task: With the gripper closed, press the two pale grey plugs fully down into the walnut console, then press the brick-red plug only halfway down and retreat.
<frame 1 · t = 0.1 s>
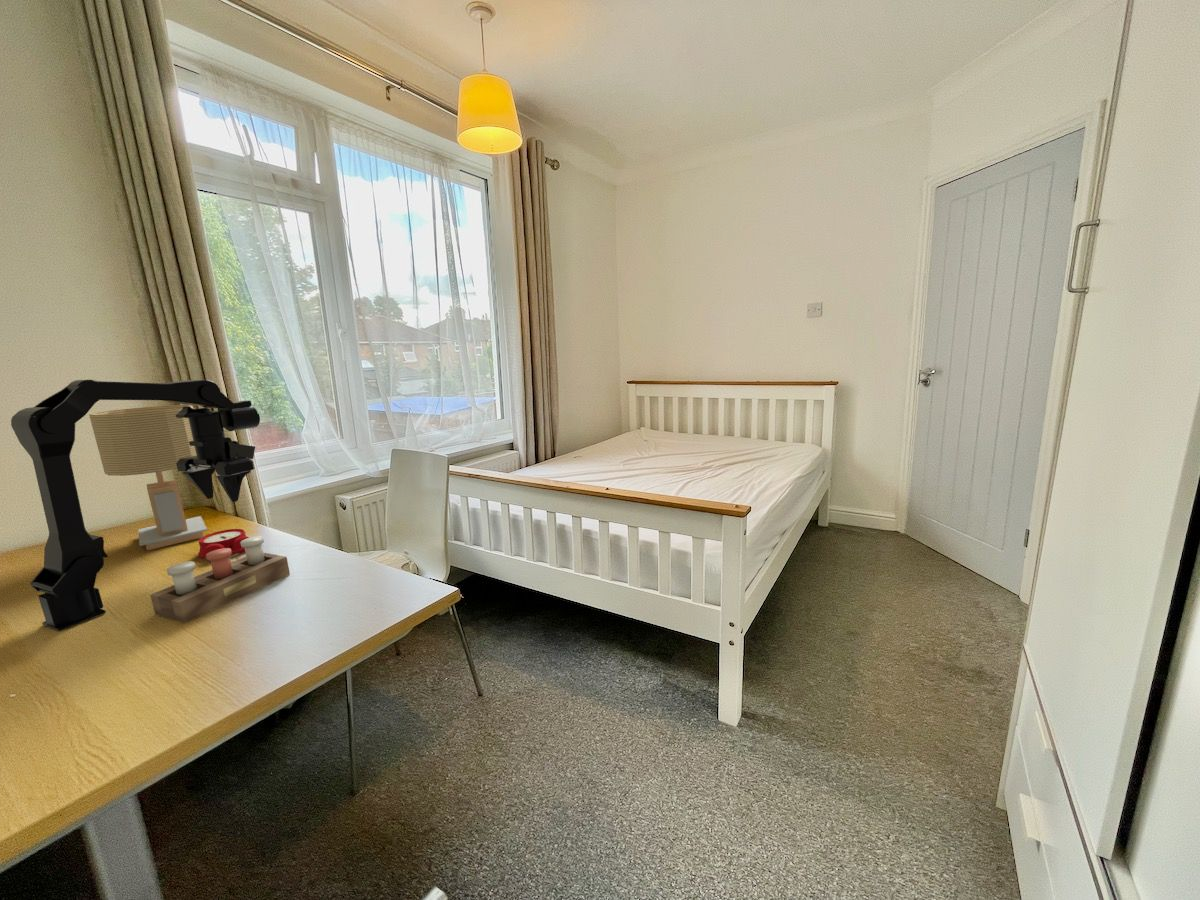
hand: (222, 499, 112), 15 cm above the table, fingers open, 9 cm apart
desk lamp: (174, 537, 130), on the table
red plug: (221, 563, 96), point 6 cm above the table, slide at 0.0 cm
alarm clock: (227, 553, 119), on the table
left plug: (183, 578, 90), point 6 cm above the table, slide at 0.0 cm
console: (227, 593, 97), on the table
right plug: (254, 551, 102), point 6 cm above the table, slide at 0.0 cm
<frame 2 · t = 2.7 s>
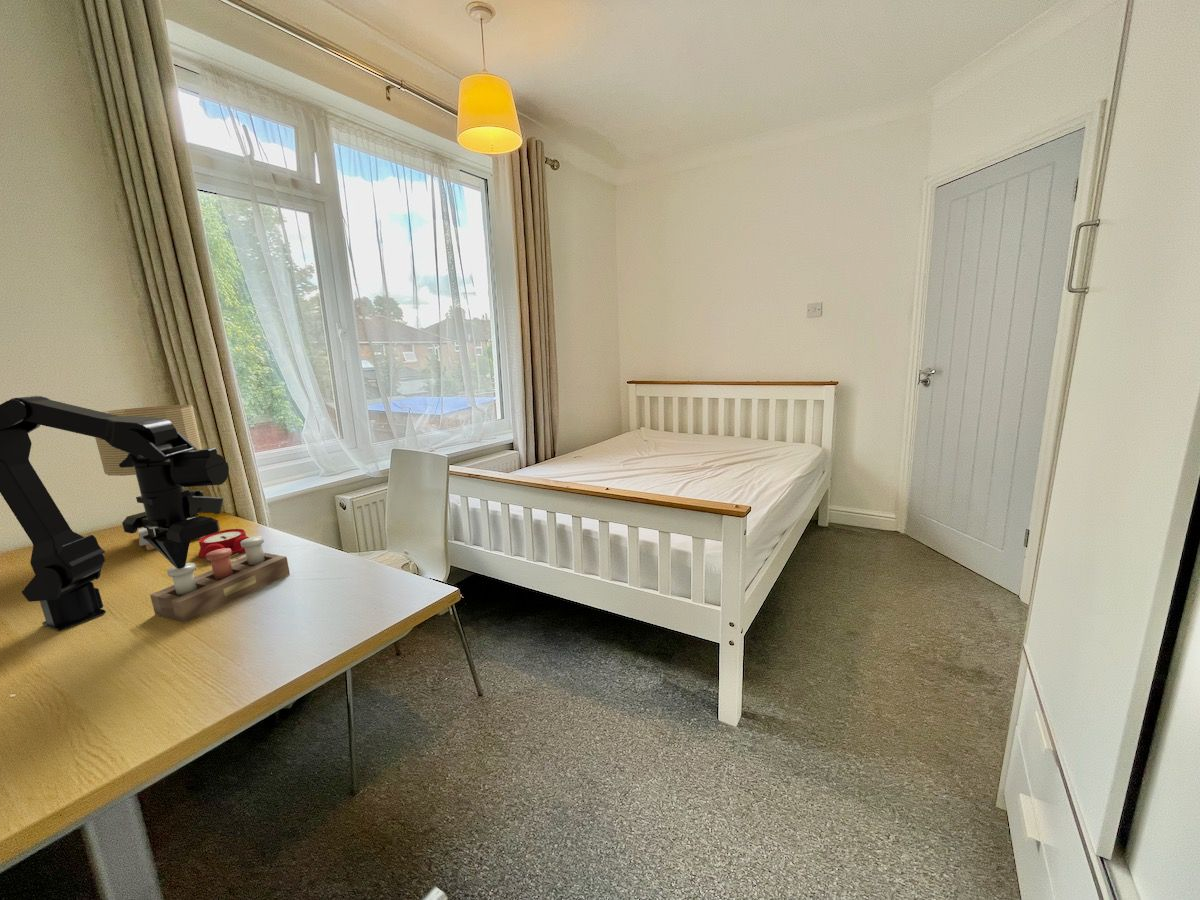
hand: (180, 567, 89), 9 cm above the table, fingers closed, pressing on left plug
left plug: (184, 579, 90), point 6 cm above the table, slide at 0.3 cm, touching gripper
everything else where it was.
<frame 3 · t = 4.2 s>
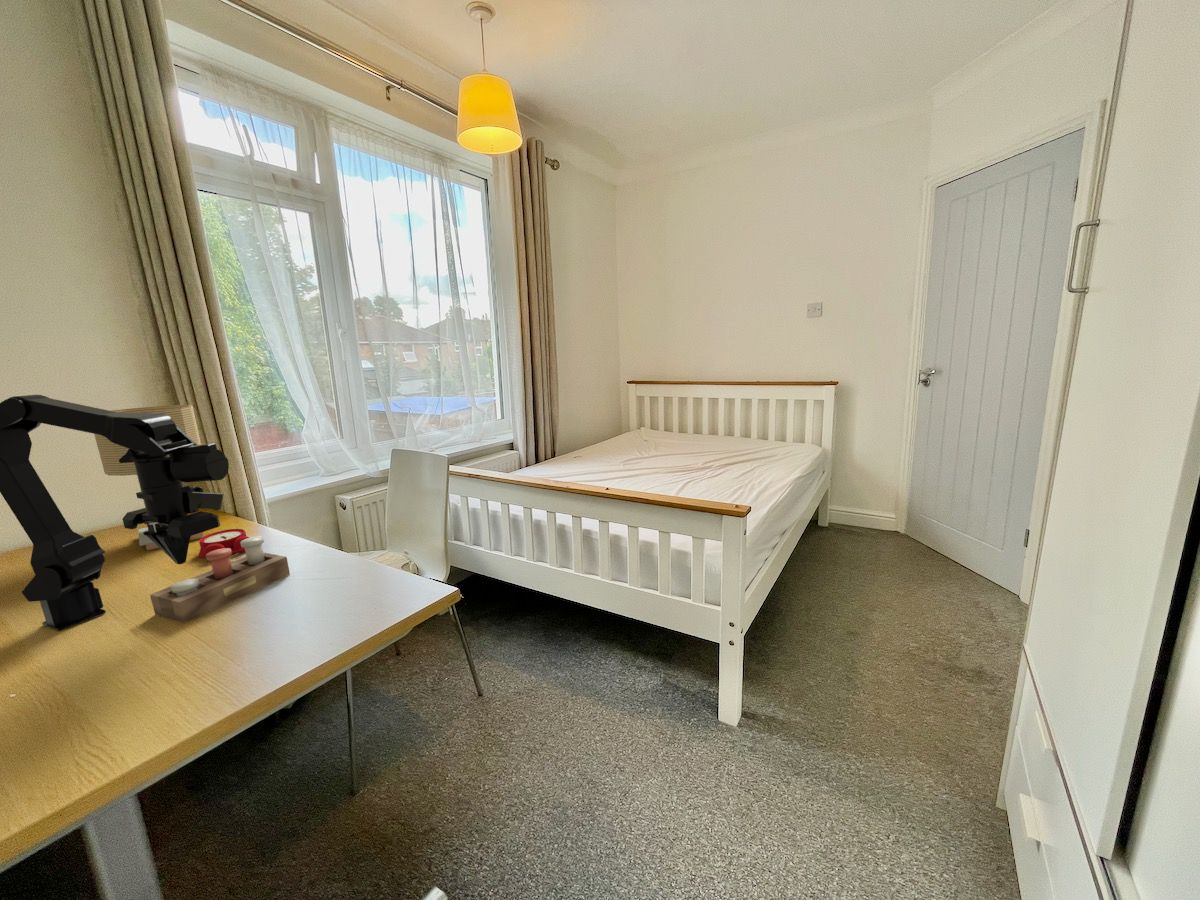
hand: (181, 563, 89), 10 cm above the table, fingers closed
left plug: (188, 595, 91), point 3 cm above the table, slide at 3.6 cm
everything else where it was.
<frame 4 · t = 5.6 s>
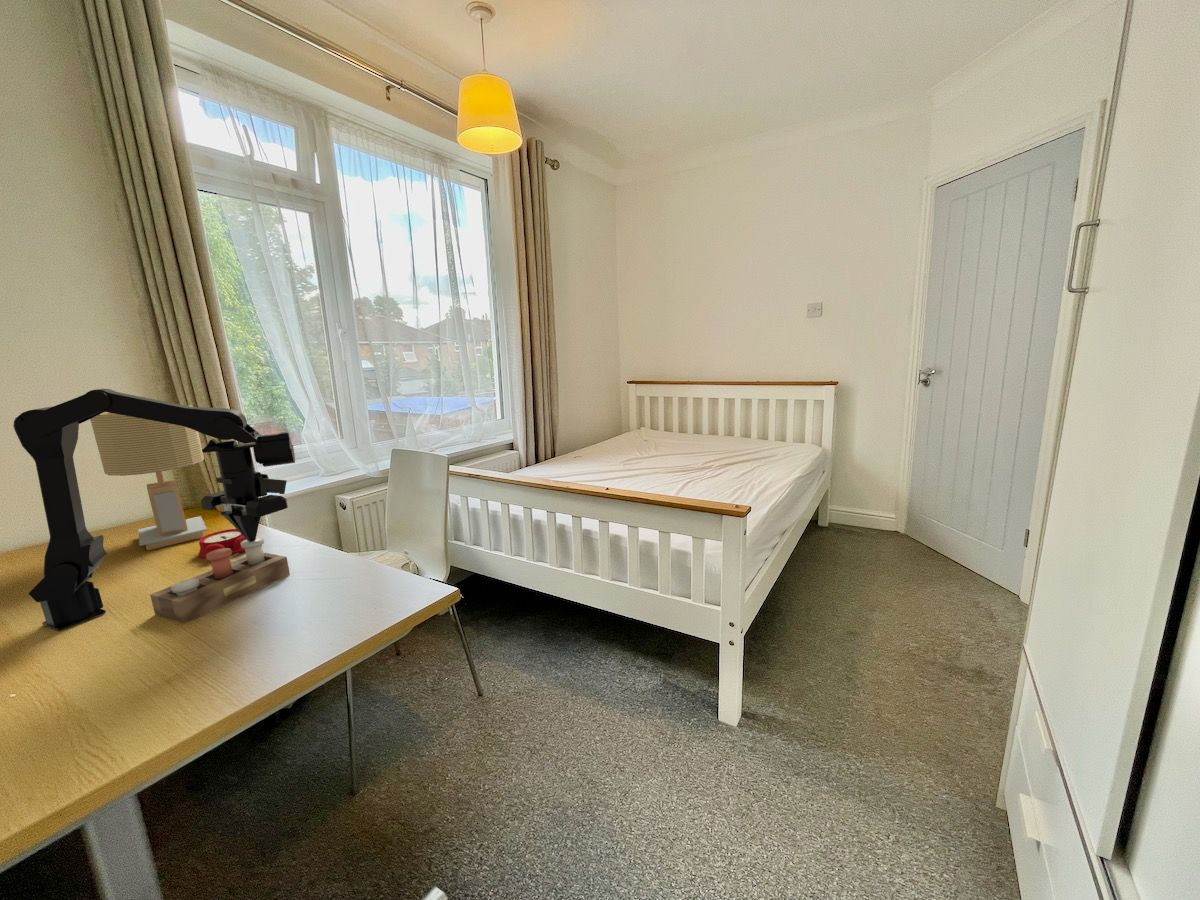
hand: (251, 540, 101), 9 cm above the table, fingers closed, pressing on right plug
right plug: (254, 551, 102), point 6 cm above the table, slide at 0.2 cm, touching gripper
everything else where it was.
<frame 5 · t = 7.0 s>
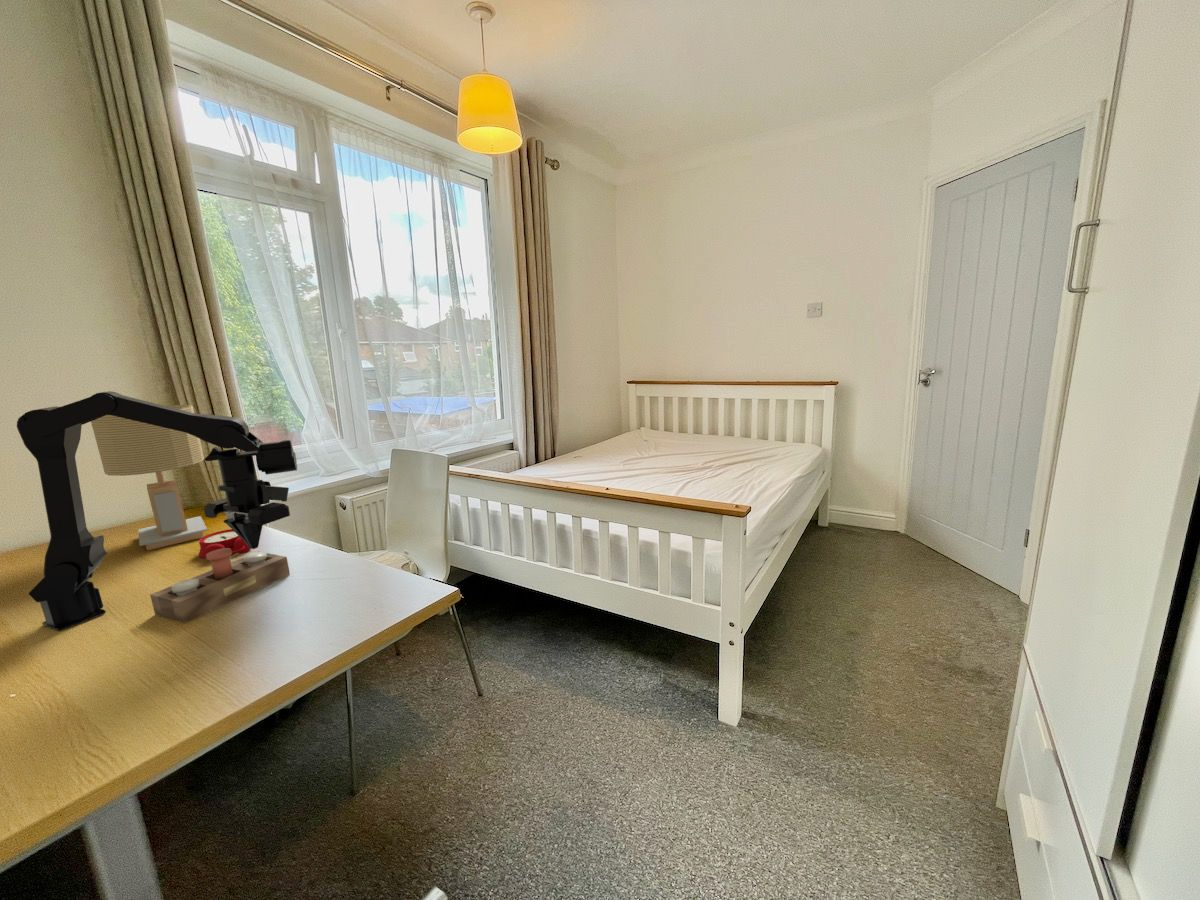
hand: (254, 548, 102), 7 cm above the table, fingers closed
right plug: (257, 566, 102), point 3 cm above the table, slide at 3.6 cm
everything else where it was.
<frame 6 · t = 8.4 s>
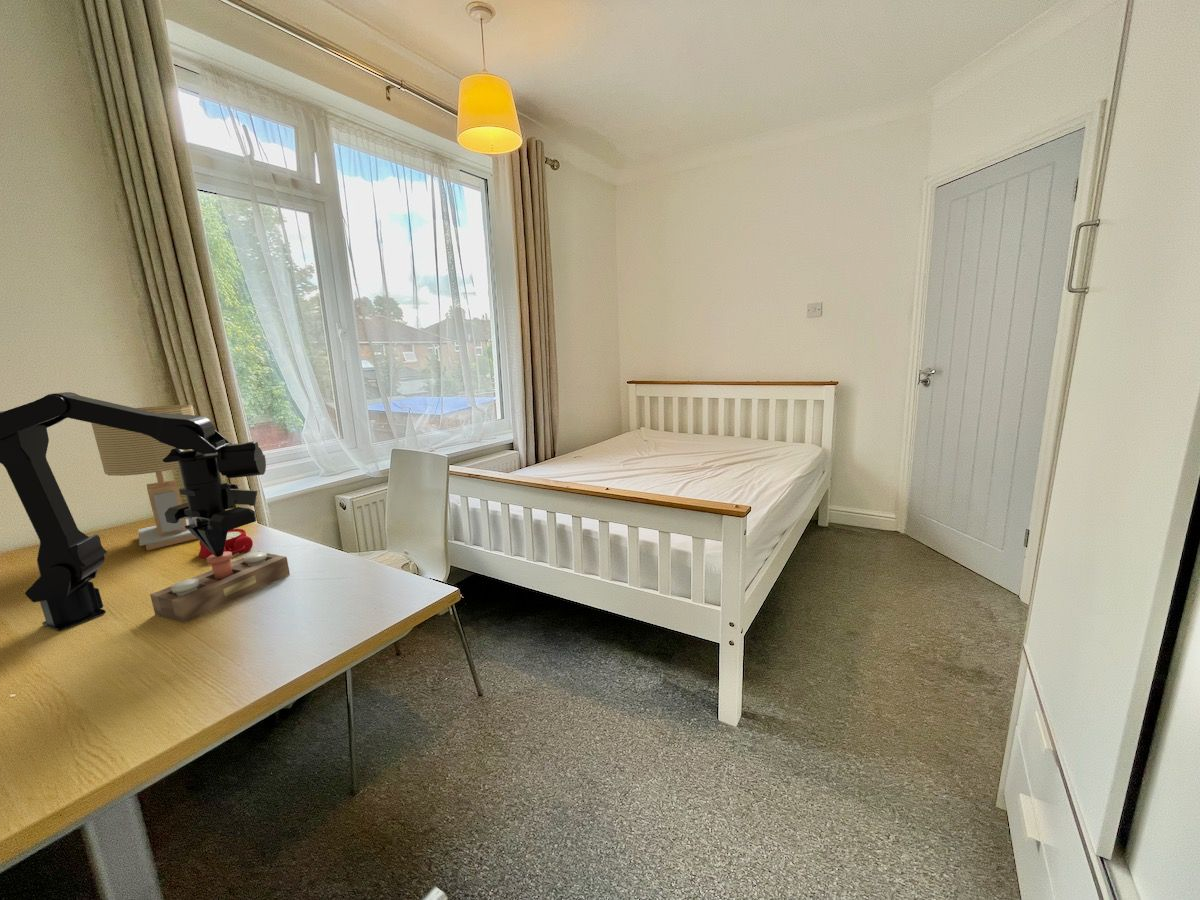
hand: (219, 555, 95), 8 cm above the table, fingers closed, pressing on red plug
red plug: (221, 567, 96), point 6 cm above the table, slide at 0.7 cm, touching gripper
everything else where it was.
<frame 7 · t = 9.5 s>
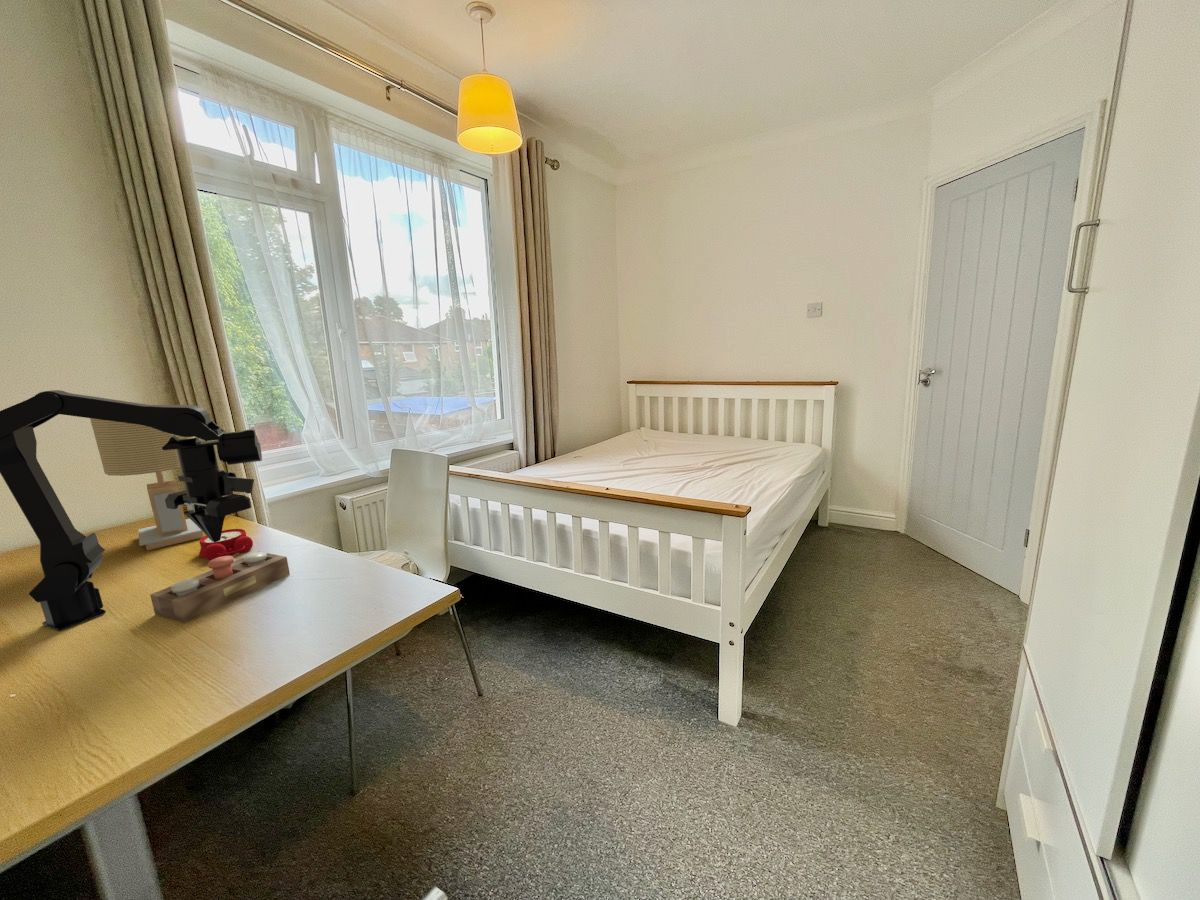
hand: (216, 541, 98), 10 cm above the table, fingers closed
red plug: (222, 571, 96), point 5 cm above the table, slide at 1.7 cm
everything else where it was.
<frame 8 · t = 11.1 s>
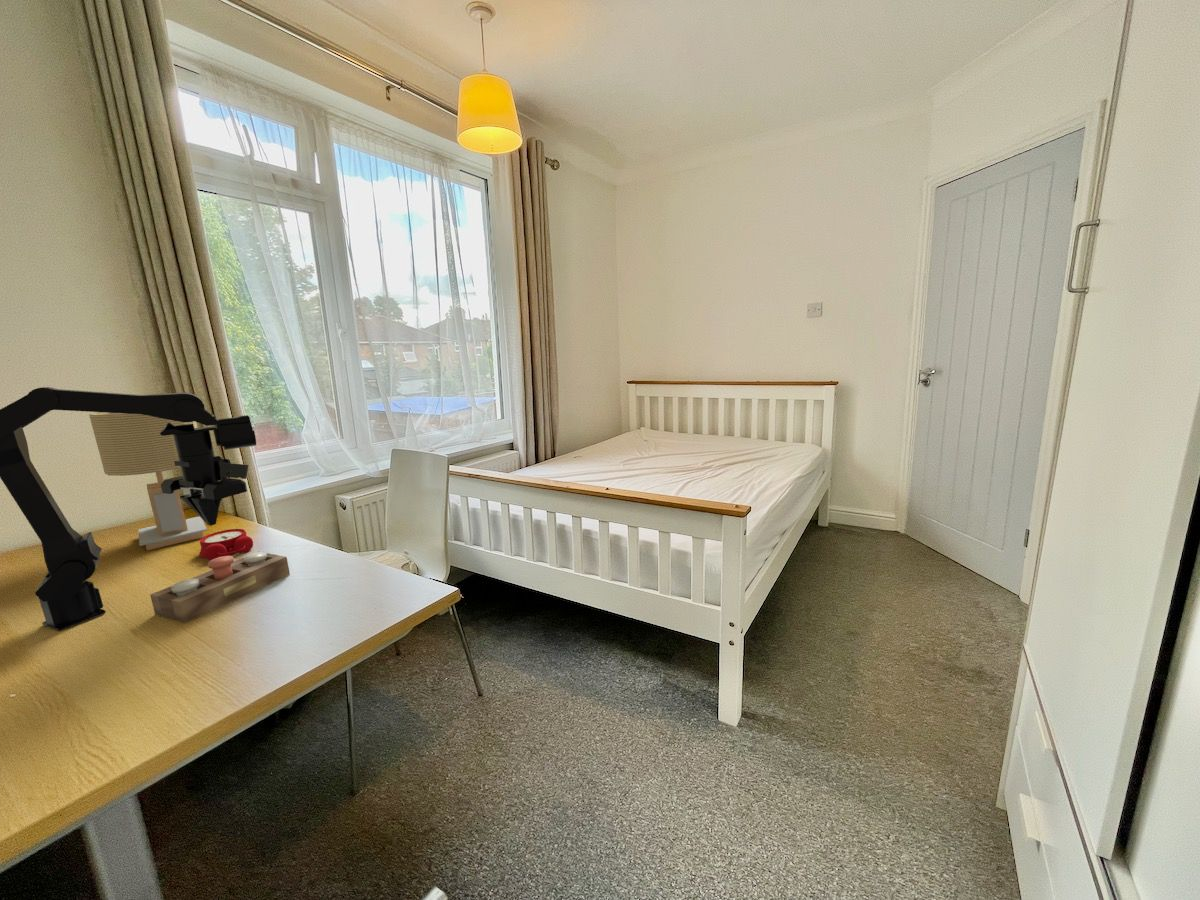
hand: (212, 524, 101), 12 cm above the table, fingers closed
nothing on the table moved.
at the end: left plug slide at 3.6 cm; right plug slide at 3.6 cm; red plug slide at 1.7 cm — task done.
